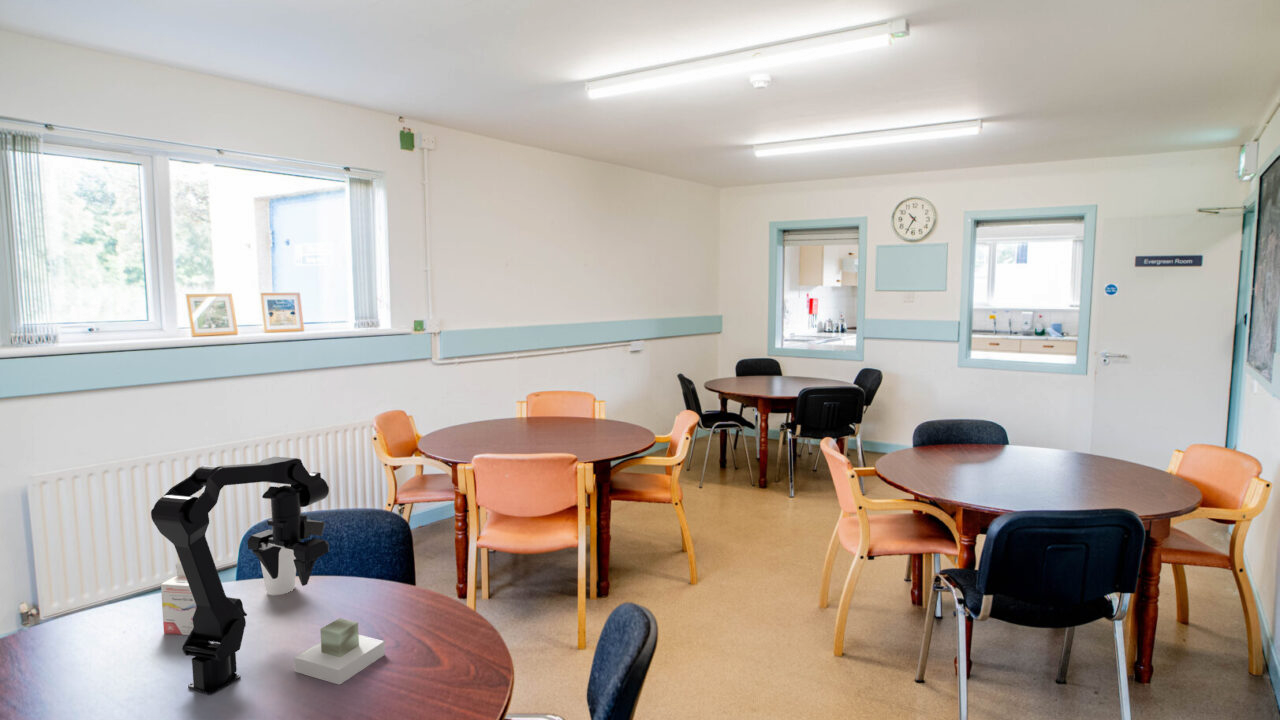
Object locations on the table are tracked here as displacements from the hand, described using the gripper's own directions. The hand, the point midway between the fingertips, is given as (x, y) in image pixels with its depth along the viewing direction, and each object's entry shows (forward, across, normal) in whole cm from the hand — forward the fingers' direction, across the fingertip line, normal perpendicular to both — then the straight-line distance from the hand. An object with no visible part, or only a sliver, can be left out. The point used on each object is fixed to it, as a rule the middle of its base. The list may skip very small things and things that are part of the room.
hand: (289, 581), depth 149 cm
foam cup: (+12, +22, -15) cm, 29 cm away
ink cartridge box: (+12, +23, +8) cm, 27 cm away
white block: (+12, -20, +5) cm, 24 cm away
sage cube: (+9, -20, +5) cm, 22 cm away
